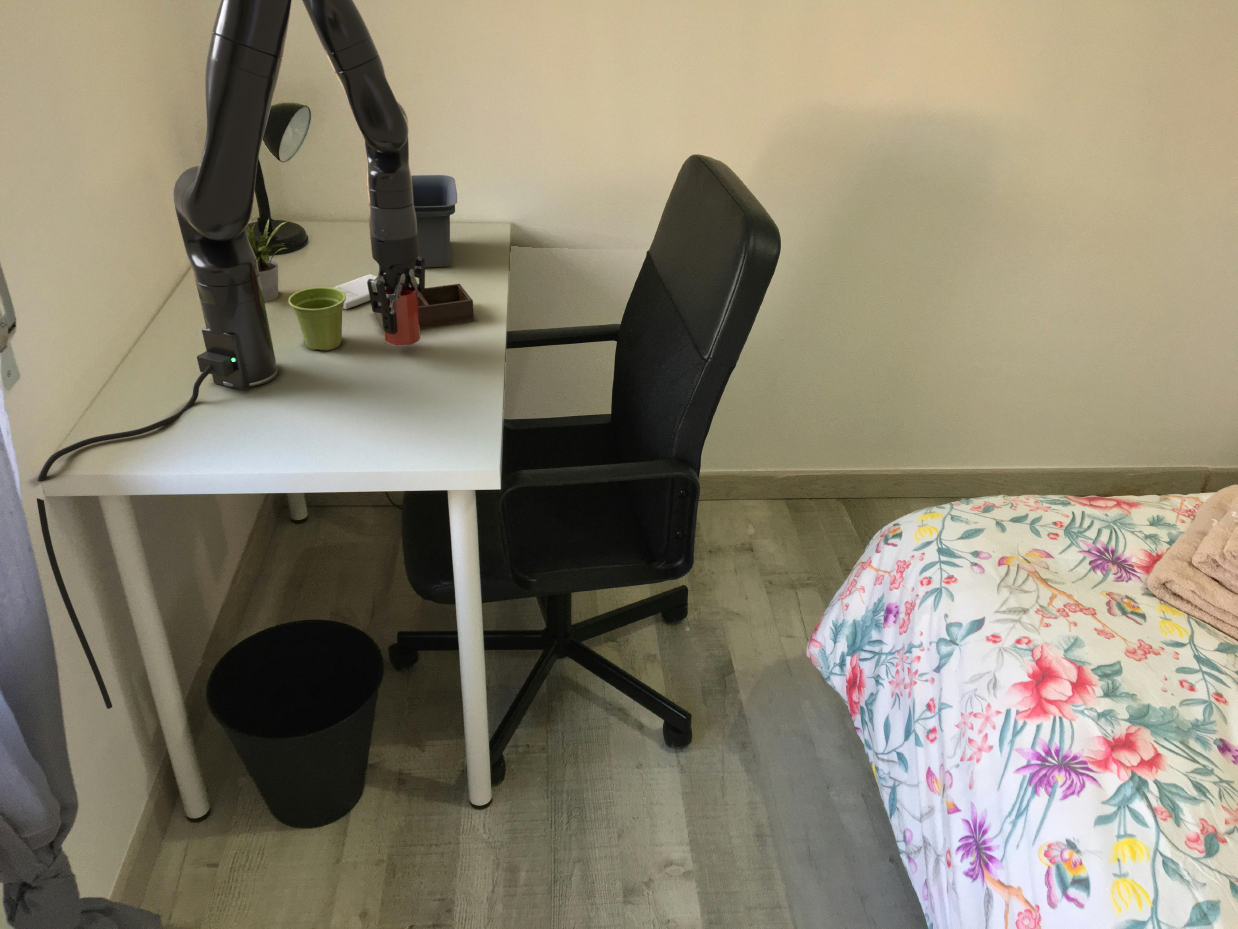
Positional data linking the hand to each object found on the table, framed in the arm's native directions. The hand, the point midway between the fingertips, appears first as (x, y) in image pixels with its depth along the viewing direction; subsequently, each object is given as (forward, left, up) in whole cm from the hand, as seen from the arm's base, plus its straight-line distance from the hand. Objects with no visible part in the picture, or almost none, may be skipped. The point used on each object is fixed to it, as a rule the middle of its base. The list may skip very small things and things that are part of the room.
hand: (401, 325), depth 156 cm
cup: (0, 0, -2) cm, 2 cm away
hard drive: (+17, +21, -5) cm, 28 cm away
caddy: (+13, +4, -5) cm, 15 cm away
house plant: (+8, +38, -5) cm, 39 cm away
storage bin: (+42, +21, -5) cm, 47 cm away
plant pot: (-4, +14, -5) cm, 15 cm away
